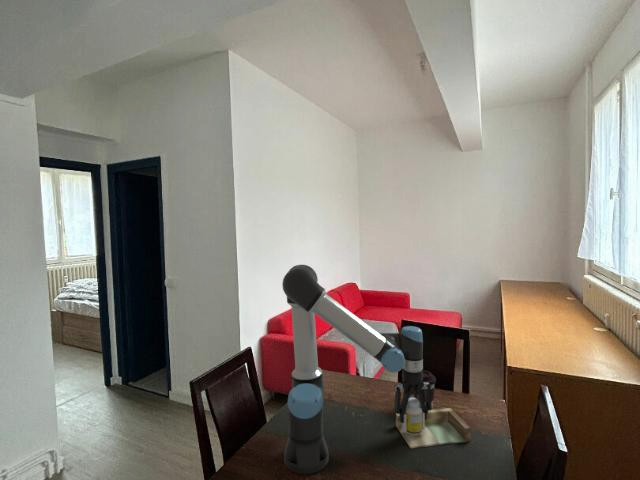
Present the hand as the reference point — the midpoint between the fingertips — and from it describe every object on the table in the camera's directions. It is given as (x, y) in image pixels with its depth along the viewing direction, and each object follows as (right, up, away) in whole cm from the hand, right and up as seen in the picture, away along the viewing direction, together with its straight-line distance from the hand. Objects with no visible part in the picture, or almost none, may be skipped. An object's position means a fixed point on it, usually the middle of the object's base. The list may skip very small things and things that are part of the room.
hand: (413, 429), depth 128 cm
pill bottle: (0, -1, 0) cm, 1 cm away
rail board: (+7, -2, +1) cm, 7 cm away
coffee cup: (+10, -2, +20) cm, 22 cm away
